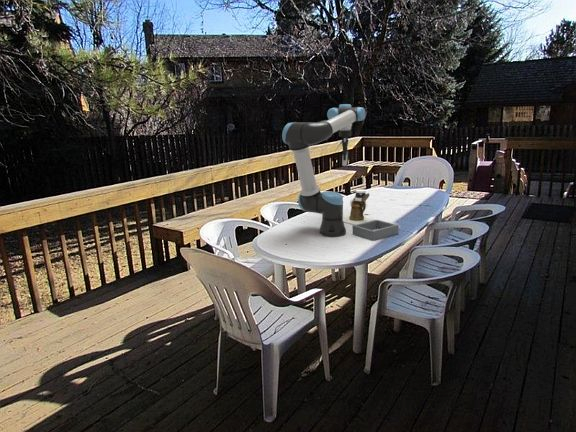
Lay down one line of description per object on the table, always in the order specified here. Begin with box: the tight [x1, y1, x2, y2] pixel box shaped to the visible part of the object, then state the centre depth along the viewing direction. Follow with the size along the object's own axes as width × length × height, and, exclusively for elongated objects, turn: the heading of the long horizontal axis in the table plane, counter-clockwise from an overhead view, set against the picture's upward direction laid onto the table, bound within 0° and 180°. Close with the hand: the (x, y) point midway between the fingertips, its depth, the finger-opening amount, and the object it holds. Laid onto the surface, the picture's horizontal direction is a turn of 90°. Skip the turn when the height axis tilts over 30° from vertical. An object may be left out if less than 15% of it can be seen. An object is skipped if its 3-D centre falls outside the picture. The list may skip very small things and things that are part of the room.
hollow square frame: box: [351, 219, 399, 241], centre depth 240 cm, size 20×16×5 cm
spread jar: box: [349, 189, 367, 205], centre depth 309 cm, size 12×11×12 cm
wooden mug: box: [349, 192, 370, 221], centre depth 268 cm, size 9×14×18 cm, turn 43°
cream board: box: [343, 215, 377, 226], centre depth 271 cm, size 18×18×1 cm
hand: (344, 164), depth 270 cm, fingers open, 13 cm apart
